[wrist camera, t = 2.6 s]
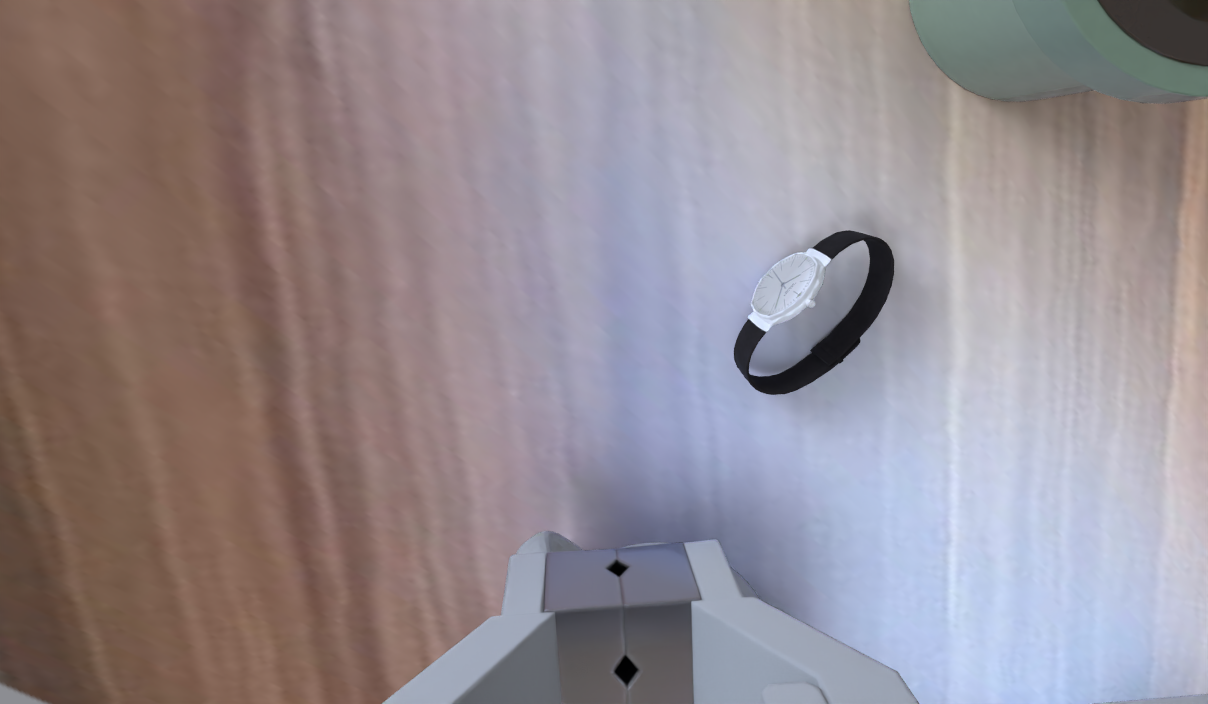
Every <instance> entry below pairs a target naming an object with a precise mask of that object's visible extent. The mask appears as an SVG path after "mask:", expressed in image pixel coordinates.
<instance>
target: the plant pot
mask: <svg viewBox="0 0 1208 704" xmlns="http://www.w3.org/2000/svg"><path fill="white" fill-rule="evenodd" d="M909 5H910V11H911V14H912V18H913V22H914V25H915V28H916V30H917V33H918V35H919V38H920V40H921V42H922V44H923V46H924V47H925V49H926V51H927V52H928V54H929V56H930V57H931V58H932V59H933V61H934V62H935V63H936V65H937V66H938V67H939V68H940V69H941V70H942V71H943V72H944V73H945V74H946V75H947V76H948V77H949V78H950V79H952V80H953V81H955V82H956V83H957V84H959V85H960V86H962V87H963V88H965V89H967V90H969V91H971V92H973V93H975V94H977V95H980V96H983V97H986V98H990V99H994V100H1000V101H1006V102H1026V101H1034V100H1041V99H1047V98H1053V97H1059V96H1065V95H1070V94H1076V93H1082V92H1088V91H1094V90H1095V91H1097V92H1099V93H1102V94H1105V95H1108V96H1111V97H1114V98H1117V99H1121V100H1127V101H1132V102H1138V103H1153V104H1169V103H1177V102H1185V101H1193V100H1201V99H1208V0H909Z"/></svg>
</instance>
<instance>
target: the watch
mask: <svg viewBox="0 0 1208 704" xmlns="http://www.w3.org/2000/svg"><path fill="white" fill-rule="evenodd" d="M862 240H864V241H865V242H866V244H867V246H868V249H869V255H870V266H869V273H868V277H867V280H866V283H865V286H864V288H863V290H862V293H861V295H860V296H859V298H858V300H857V301H856V303H855V304H854V306H853V308H852V309H851V311H850V312H849V313H848V314H847V315H846V317H845V318H844V319H843V320H842V321H841V322H840V323H839V324H838V325H837V327H836V328H835V329H834V330H833V331H832V332H831V333H830V334H829V335H828V336H827V337H826V338H825V339H823V340H822V341H821V342H820V343H818V344H817V345H816V346H815V347H814V348H813V349H812V350H810V351H811V354H810V355H808V356H807V357H806V358H804V359H803V360H801V361H800V362H799V363H797V364H796V365H795V366H793V367H791V368H789V369H787V370H786V371H784V372H782V373H780V374H777V375H772V376H762V377H758V376H754V375H750V374H749V362H750V358H751V355H752V353H753V351H754V349H755V347H756V345H757V344H758V342H759V341H760V340H761V338H762V337H763V336H764V335H765V333H766V332H768V331H769V329H770V328H771V327H772V326H773V325H778V324H781V323H783V322H786V321H788V320H791V319H792V318H794V317H795V316H796V315H798V314H799V313H801V312H802V311H803V310H804V309H805V308H806V307H807V306H808V307H809V308H813V307H814V306H815V302H814V301H813V299H814V298H815V296H816V295H817V293H818V291H819V290H820V288H821V287H822V285H823V281H824V276H825V271H826V266H827V265H828V264H829V263H830V262H831V261H832V259H833V258H834V257H835V256H836V255H837V254H838V253H839V252H841V251H842V250H844V249H845V248H847V247H848V246H850V245H851V244H853V243H856V242H859V241H862ZM893 275H894V258H893V254H892V251H891V249H890V247H889V246H888V244H887V243H886V242H884V241H883V240H882V239H880V238H877V237H873V236H870V235H866V234H863V233H859V232H855V231H842V232H837V233H835V234H833V235H831V236H829V237H827V238H825V239H824V240H822V241H820V242H819V243H818V244H817V245H816V246H814V247H813V248H808V250H807V251H806V253H804V252H796V253H794V254H792V255H790V256H788V257H785V258H784V259H782V260H781V261H779V262H777V263H776V264H774V265H773V266H772V267H771V268H770V269H769V270H768V271H767V272H766V273H765V274H764V276H763V277H762V278H761V279H760V281H759V282H758V284H757V286H756V288H755V291H754V293H753V296H752V300H751V307H752V309H753V312H752V313H751V314H750V315H749V316H747V317H748V318H749V319H748V320H747V322H746V323H745V325H744V326H743V328H742V330H741V331H740V333H739V335H738V338H737V340H736V344H735V348H734V360H735V363H736V365H737V367H738V368H739V370H740V371H741V373H742V374H743V375H744V377H745V378H746V379H747V380H748V381H749V383H750V384H751V385H752V386H753V387H754V388H755V389H756V390H758V391H760V392H762V393H766V394H772V395H776V394H786V393H790V392H793V391H796V390H798V389H800V388H802V387H804V386H806V385H808V384H810V383H811V382H813V381H815V380H816V379H818V378H819V377H821V376H822V375H824V374H825V373H827V372H828V371H830V370H831V369H832V368H833V367H835V366H836V365H837V364H838V363H841V362H843V359H844V358H845V357H846V356H847V355H848V354H849V353H851V352H852V351H853V350H854V349H855V348H856V347H857V346H858V345H859V343H860V337H861V336H862V335H863V334H864V332H865V331H866V330H867V329H868V328H869V327H870V326H871V324H872V323H873V322H874V320H875V319H876V317H877V316H878V314H879V312H880V311H881V309H882V307H883V305H884V304H885V302H886V300H887V297H888V294H889V291H890V288H891V286H892V281H893Z"/></svg>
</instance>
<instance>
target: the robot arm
mask: <svg viewBox="0 0 1208 704" xmlns="http://www.w3.org/2000/svg"><path fill="white" fill-rule="evenodd" d="M382 704H919V703H918V701H917V700H916V698H915V697H914V695H913V694H912V692H911V691H910V689H909V688H908V686H907V685H906V683H905V682H904V681H903V679H902V678H901V676H900V675H899V673H898V672H897V671H895V670H893V669H891V668H889V667H887V666H885V665H883V664H882V663H880V662H878V661H876V660H874V659H872V658H870V657H868V656H866V655H864V654H862V653H861V652H859V651H857V650H855V649H853V648H851V647H849V646H847V645H845V644H843V643H841V642H839V641H838V640H836V639H834V638H832V637H830V636H828V635H826V634H824V633H822V632H820V631H818V630H817V629H815V628H813V627H811V626H809V625H807V624H805V623H803V622H801V621H799V620H797V619H796V618H794V617H792V616H790V615H788V614H786V613H784V612H782V611H780V610H778V609H776V608H775V607H773V606H771V605H769V604H767V603H765V602H763V601H761V600H759V599H757V598H755V597H743V594H742V592H741V590H740V588H739V585H738V583H737V581H736V579H735V576H734V574H733V572H732V569H731V567H730V565H729V563H728V560H727V558H726V556H725V554H724V551H723V549H722V547H721V545H720V542H719V541H718V540H716V539H711V540H703V541H695V542H687V543H683V542H678V543H668V544H657V545H647V546H637V547H627V548H617V549H599V550H580V551H562V552H547V555H546V553H545V552H536V553H526V554H516V555H512V556H511V557H510V558H509V564H508V570H507V577H506V584H505V591H504V598H503V605H502V612H501V616H493V617H490V618H489V619H488V620H486V621H485V622H484V623H483V624H481V625H480V626H479V627H478V628H476V629H475V630H474V631H473V632H471V633H470V634H469V635H467V636H466V637H465V638H464V639H462V640H461V641H460V642H459V643H457V644H456V645H455V646H454V647H452V648H451V649H450V650H449V651H447V652H446V653H445V654H444V655H442V656H441V657H440V658H439V659H437V660H436V661H435V662H434V663H432V664H431V665H430V666H428V667H427V668H426V669H425V670H423V671H422V672H421V673H420V674H418V675H417V676H416V677H415V678H413V679H412V680H411V681H410V682H408V683H407V684H406V685H405V686H403V687H402V688H401V689H400V690H398V691H397V692H396V693H395V694H393V695H392V696H391V697H389V698H388V699H387V700H386V701H384V702H383V703H382ZM1094 704H1208V694H1201V695H1189V696H1177V697H1165V698H1153V699H1141V700H1129V701H1117V702H1106V703H1094Z"/></svg>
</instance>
